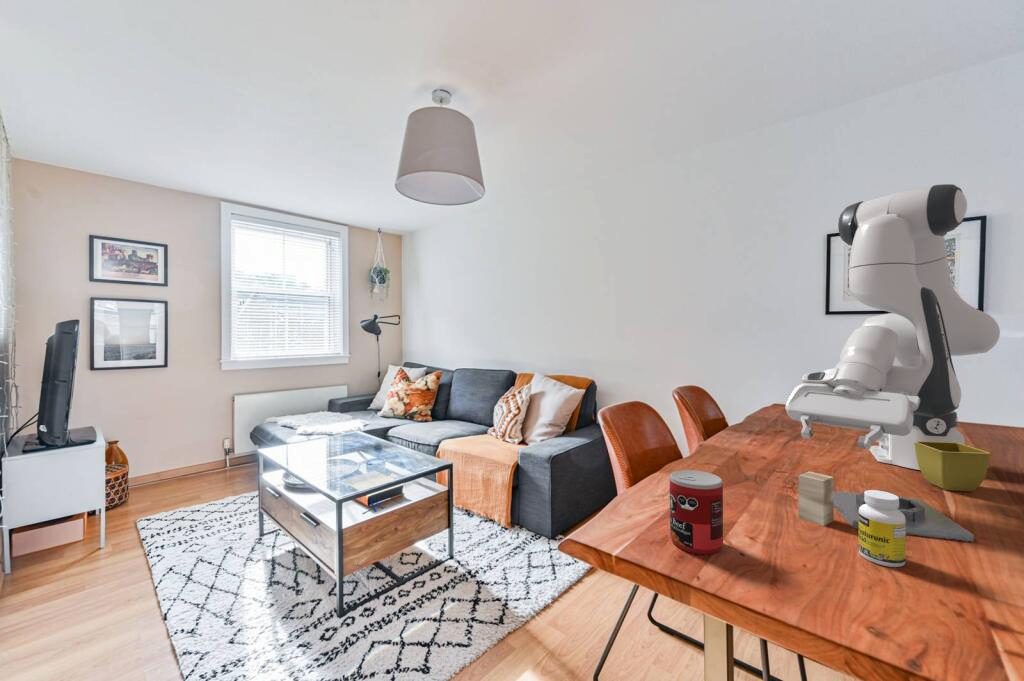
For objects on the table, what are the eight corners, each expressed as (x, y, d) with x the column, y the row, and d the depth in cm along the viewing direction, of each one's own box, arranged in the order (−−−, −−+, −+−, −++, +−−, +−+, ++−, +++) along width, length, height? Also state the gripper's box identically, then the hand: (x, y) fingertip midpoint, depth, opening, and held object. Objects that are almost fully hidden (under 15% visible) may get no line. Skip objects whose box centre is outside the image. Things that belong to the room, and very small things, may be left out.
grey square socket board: (823, 495, 90) (823, 482, 90) (920, 505, 85) (920, 491, 85) (853, 527, 75) (853, 512, 75) (973, 542, 70) (973, 525, 70)
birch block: (809, 513, 82) (808, 471, 82) (833, 520, 78) (833, 477, 78) (798, 518, 80) (798, 475, 80) (823, 526, 76) (823, 481, 76)
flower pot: (992, 496, 89) (992, 452, 89) (942, 493, 90) (942, 451, 90) (957, 482, 97) (957, 442, 97) (912, 479, 99) (912, 441, 99)
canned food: (664, 533, 75) (663, 469, 74) (710, 533, 74) (710, 469, 74) (679, 555, 67) (679, 485, 67) (732, 555, 67) (731, 485, 66)
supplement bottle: (849, 552, 67) (849, 490, 67) (875, 547, 68) (874, 486, 68) (888, 571, 62) (888, 503, 62) (915, 565, 63) (915, 498, 63)
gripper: (926, 404, 80) (907, 464, 75) (805, 392, 98) (783, 440, 93) (918, 381, 78) (898, 442, 73) (795, 373, 95) (772, 422, 90)
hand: (833, 441), depth 83 cm, fingers open, 8 cm apart
